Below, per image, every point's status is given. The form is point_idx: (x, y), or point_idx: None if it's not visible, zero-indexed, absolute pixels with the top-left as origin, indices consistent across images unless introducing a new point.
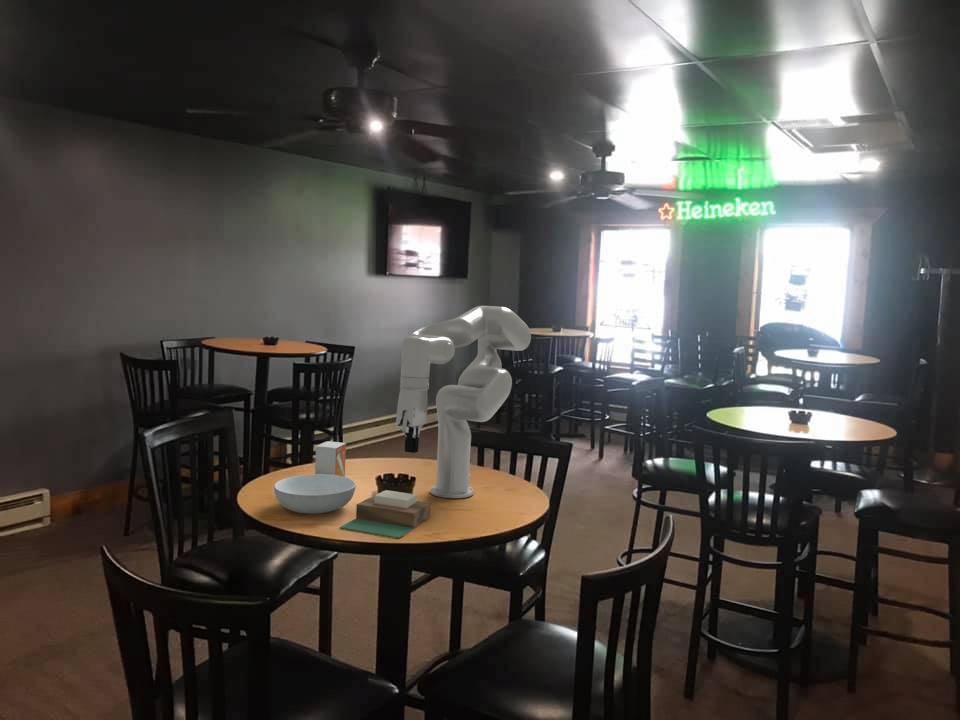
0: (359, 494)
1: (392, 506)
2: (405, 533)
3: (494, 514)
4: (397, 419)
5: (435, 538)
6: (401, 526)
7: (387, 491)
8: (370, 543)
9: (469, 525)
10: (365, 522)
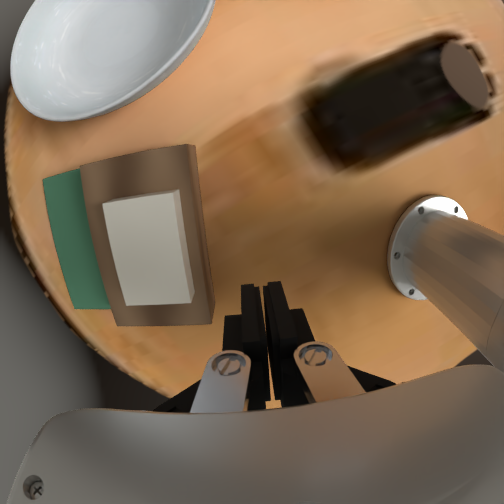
0: (301, 36)
1: None
2: (96, 308)
3: None
4: (27, 470)
5: (122, 355)
6: None
7: (161, 208)
8: (35, 276)
9: None
10: None
